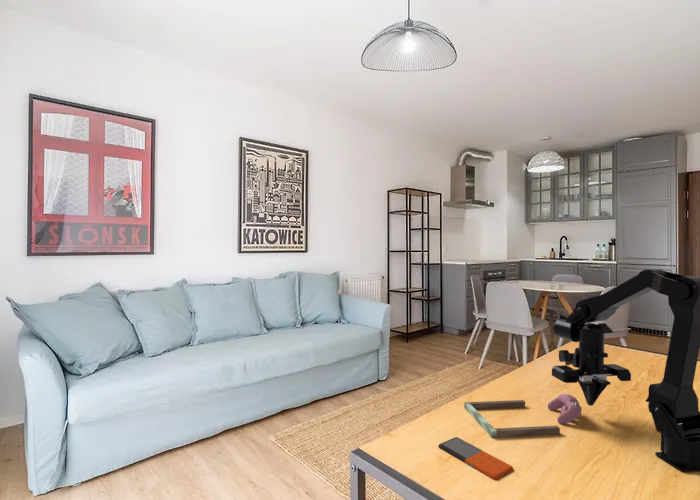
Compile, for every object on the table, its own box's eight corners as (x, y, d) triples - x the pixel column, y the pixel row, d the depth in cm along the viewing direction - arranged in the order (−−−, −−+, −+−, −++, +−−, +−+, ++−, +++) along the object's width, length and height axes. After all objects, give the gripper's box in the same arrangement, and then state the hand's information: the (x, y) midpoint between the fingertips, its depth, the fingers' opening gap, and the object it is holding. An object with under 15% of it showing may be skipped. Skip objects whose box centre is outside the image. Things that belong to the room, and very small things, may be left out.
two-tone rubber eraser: (495, 477, 76) (437, 443, 88) (495, 483, 76) (437, 449, 88) (514, 466, 79) (456, 435, 92) (514, 472, 79) (456, 440, 92)
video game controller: (574, 432, 98) (588, 408, 97) (556, 422, 99) (570, 399, 98) (561, 415, 108) (573, 393, 107) (545, 406, 109) (557, 385, 108)
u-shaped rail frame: (559, 434, 94) (559, 427, 94) (491, 437, 92) (491, 431, 92) (522, 405, 110) (522, 399, 110) (464, 407, 109) (464, 402, 109)
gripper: (601, 338, 112) (600, 392, 113) (540, 339, 110) (539, 394, 111) (633, 349, 101) (631, 408, 101) (565, 351, 99) (564, 411, 100)
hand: (590, 405), depth 104 cm, fingers closed
